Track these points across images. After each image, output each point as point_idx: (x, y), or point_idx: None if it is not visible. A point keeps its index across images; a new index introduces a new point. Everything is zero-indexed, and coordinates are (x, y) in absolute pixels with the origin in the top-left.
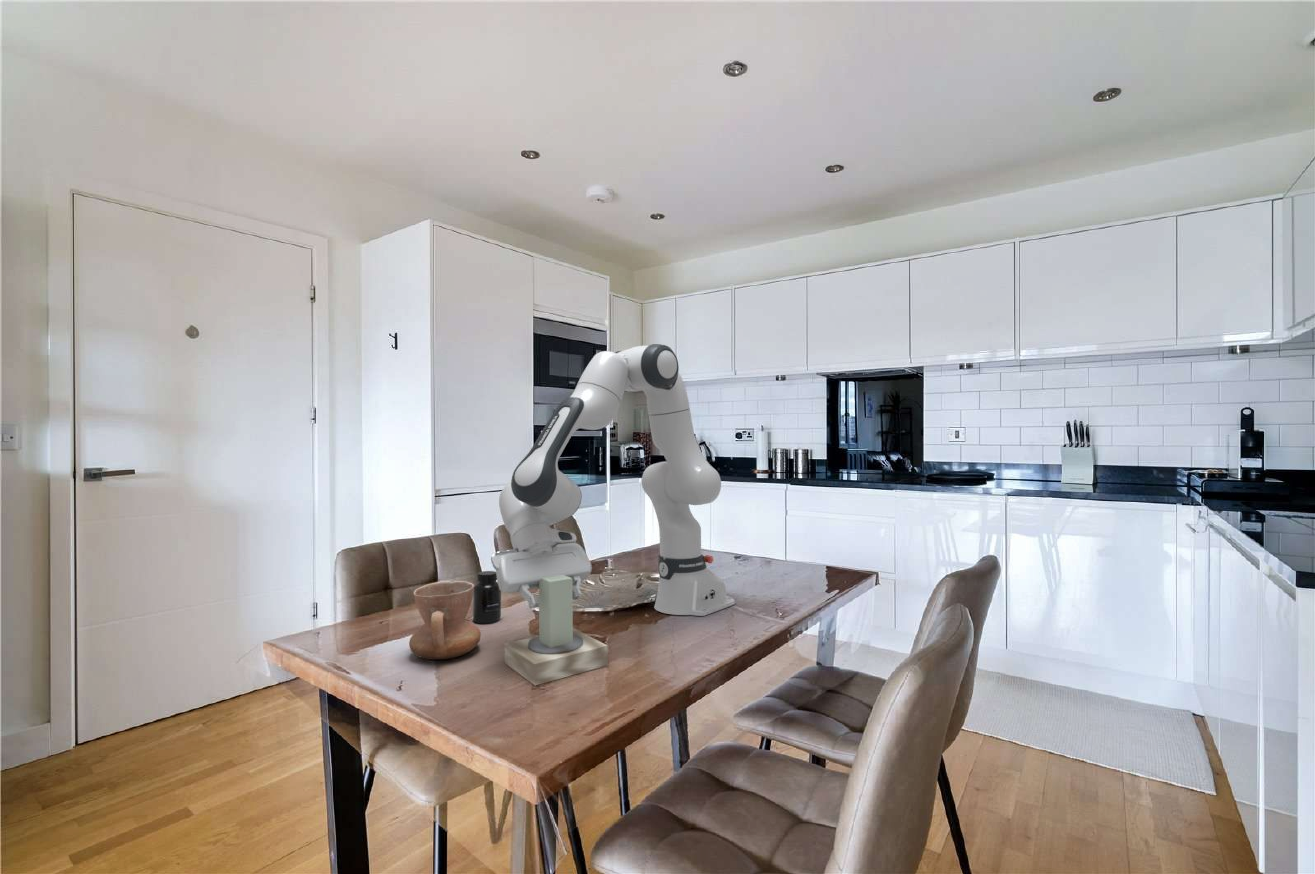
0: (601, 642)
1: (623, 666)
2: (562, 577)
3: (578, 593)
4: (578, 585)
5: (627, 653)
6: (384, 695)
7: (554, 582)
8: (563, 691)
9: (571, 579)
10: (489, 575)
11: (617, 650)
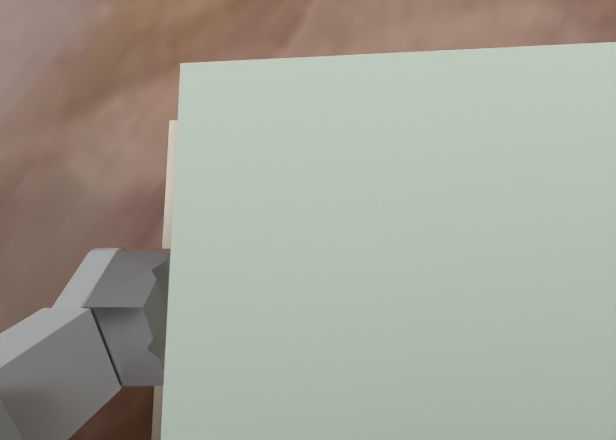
0: (166, 182)
1: (157, 101)
2: (295, 238)
3: (124, 251)
4: (33, 324)
5: (46, 225)
6: None
7: (576, 51)
8: (512, 17)
9: (206, 68)
10: None
11: (55, 291)
